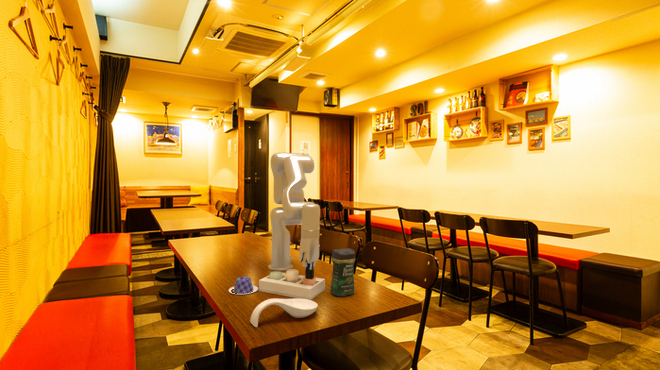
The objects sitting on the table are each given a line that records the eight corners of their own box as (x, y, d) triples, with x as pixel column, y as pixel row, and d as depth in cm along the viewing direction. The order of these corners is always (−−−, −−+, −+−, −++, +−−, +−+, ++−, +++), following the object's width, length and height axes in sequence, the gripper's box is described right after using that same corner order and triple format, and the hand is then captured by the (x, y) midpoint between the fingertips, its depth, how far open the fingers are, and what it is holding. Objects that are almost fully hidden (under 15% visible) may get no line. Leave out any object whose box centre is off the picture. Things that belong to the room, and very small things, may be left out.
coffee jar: (337, 298, 134) (338, 252, 133) (327, 292, 141) (328, 248, 140) (357, 294, 138) (358, 249, 138) (347, 288, 145) (348, 246, 145)
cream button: (290, 280, 146) (290, 268, 145) (300, 281, 143) (300, 270, 143) (283, 283, 141) (283, 271, 141) (294, 285, 139) (294, 273, 139)
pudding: (230, 286, 146) (230, 274, 146) (258, 285, 148) (259, 274, 148) (226, 296, 134) (226, 283, 134) (257, 295, 136) (257, 282, 136)
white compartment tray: (276, 281, 153) (277, 271, 153) (324, 289, 144) (325, 279, 144) (258, 290, 141) (258, 280, 140) (310, 300, 131) (310, 289, 131)
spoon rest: (306, 305, 127) (306, 286, 127) (324, 316, 117) (324, 296, 117) (245, 319, 113) (246, 298, 113) (260, 333, 104) (260, 310, 103)
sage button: (274, 281, 149) (274, 270, 149) (284, 283, 147) (284, 272, 147) (267, 285, 144) (267, 273, 144) (277, 287, 142) (278, 275, 142)
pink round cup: (306, 287, 142) (306, 275, 142) (317, 289, 140) (317, 277, 140) (300, 291, 138) (300, 279, 137) (312, 293, 136) (312, 280, 135)
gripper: (310, 230, 147) (309, 272, 147) (293, 235, 133) (292, 282, 133) (326, 232, 144) (325, 274, 144) (310, 237, 130) (309, 285, 130)
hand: (309, 278), depth 139 cm, fingers closed
